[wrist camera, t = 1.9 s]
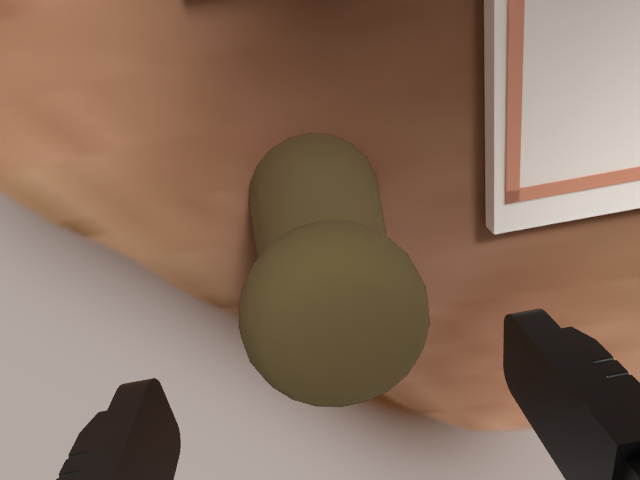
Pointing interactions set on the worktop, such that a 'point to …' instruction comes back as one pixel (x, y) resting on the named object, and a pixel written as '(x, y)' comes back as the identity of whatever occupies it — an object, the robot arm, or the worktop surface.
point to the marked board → (560, 110)
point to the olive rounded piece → (327, 278)
